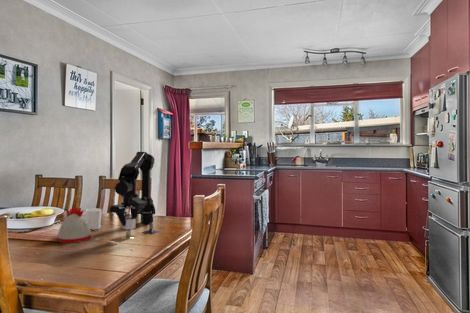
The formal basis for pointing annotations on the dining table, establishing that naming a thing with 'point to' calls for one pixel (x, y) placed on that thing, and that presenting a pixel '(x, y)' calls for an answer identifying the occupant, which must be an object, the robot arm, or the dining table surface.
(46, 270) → the dining table surface
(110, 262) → the dining table surface
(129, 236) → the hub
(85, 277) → the dining table surface
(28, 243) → the dining table surface
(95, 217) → the white cup
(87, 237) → the chicken hat
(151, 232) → the stand
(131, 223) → the collar
